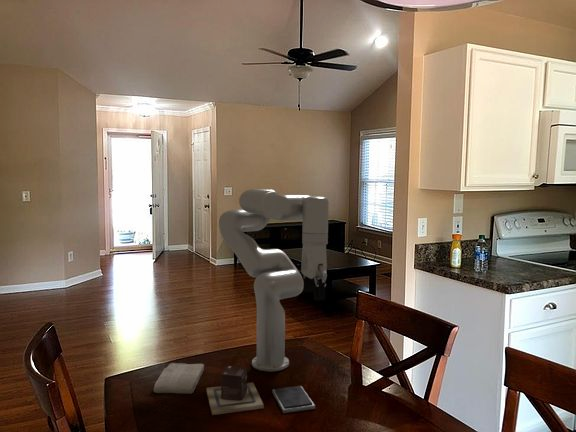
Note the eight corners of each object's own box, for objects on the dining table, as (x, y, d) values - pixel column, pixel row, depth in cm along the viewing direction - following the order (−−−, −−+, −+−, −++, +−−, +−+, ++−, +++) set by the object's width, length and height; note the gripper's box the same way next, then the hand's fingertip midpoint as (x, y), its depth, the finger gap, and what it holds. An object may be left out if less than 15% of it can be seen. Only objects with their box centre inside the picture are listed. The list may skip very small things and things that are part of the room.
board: (206, 391, 133) (206, 387, 133) (253, 385, 137) (253, 381, 137) (212, 415, 119) (212, 410, 119) (263, 408, 123) (263, 404, 123)
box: (241, 401, 125) (241, 376, 124) (220, 399, 126) (220, 374, 125) (247, 391, 131) (247, 367, 130) (227, 389, 132) (227, 365, 131)
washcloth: (205, 369, 149) (205, 360, 148) (193, 396, 131) (193, 385, 131) (169, 369, 149) (169, 360, 148) (152, 395, 131) (152, 385, 131)
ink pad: (272, 392, 132) (272, 388, 132) (301, 389, 135) (301, 384, 135) (283, 413, 121) (283, 408, 121) (314, 408, 123) (315, 403, 123)
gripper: (294, 235, 139) (293, 289, 141) (312, 242, 123) (311, 304, 124) (316, 234, 141) (315, 288, 143) (338, 242, 125) (337, 302, 126)
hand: (314, 295), depth 133 cm, fingers open, 9 cm apart
